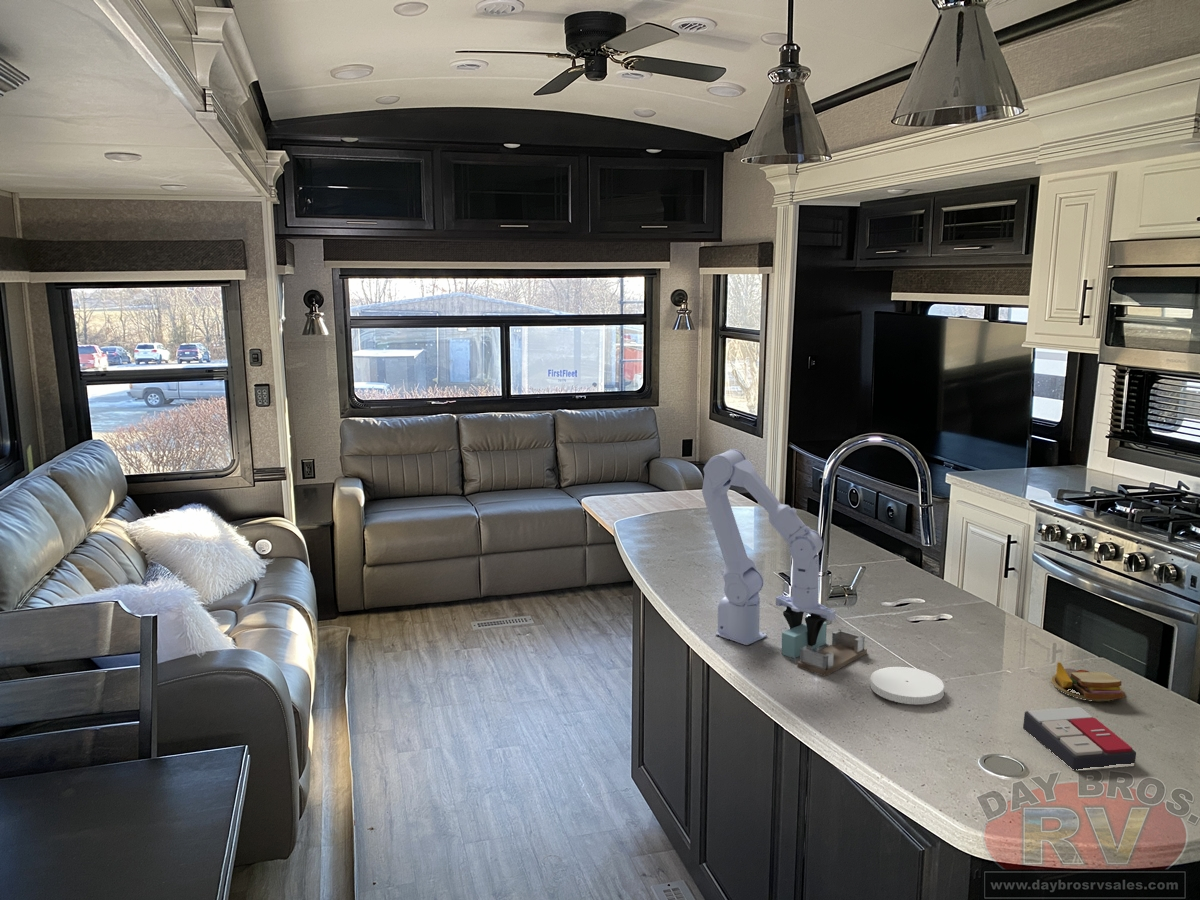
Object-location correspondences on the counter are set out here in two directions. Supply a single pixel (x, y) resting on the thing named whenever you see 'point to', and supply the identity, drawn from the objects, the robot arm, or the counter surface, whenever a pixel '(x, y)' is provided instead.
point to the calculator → (1077, 738)
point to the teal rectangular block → (800, 639)
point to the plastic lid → (907, 685)
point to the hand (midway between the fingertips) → (804, 642)
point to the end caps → (827, 660)
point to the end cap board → (835, 658)
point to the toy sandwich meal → (1087, 684)
